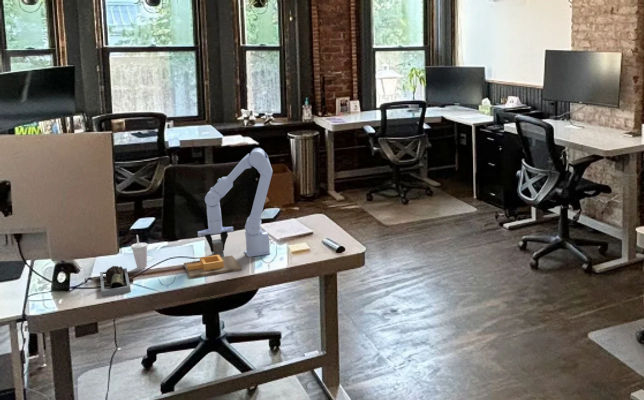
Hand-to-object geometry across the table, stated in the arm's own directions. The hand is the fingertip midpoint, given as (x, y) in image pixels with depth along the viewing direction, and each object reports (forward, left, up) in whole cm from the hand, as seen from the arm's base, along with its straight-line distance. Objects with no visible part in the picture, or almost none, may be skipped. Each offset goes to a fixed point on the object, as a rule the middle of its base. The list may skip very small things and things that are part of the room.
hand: (217, 250), depth 267 cm
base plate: (+5, +14, -2) cm, 15 cm away
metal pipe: (+42, +15, -2) cm, 44 cm away
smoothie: (+31, +1, -2) cm, 31 cm away
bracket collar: (+8, +14, -1) cm, 16 cm away
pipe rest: (+42, +15, -2) cm, 45 cm away
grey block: (0, 0, -2) cm, 2 cm away
